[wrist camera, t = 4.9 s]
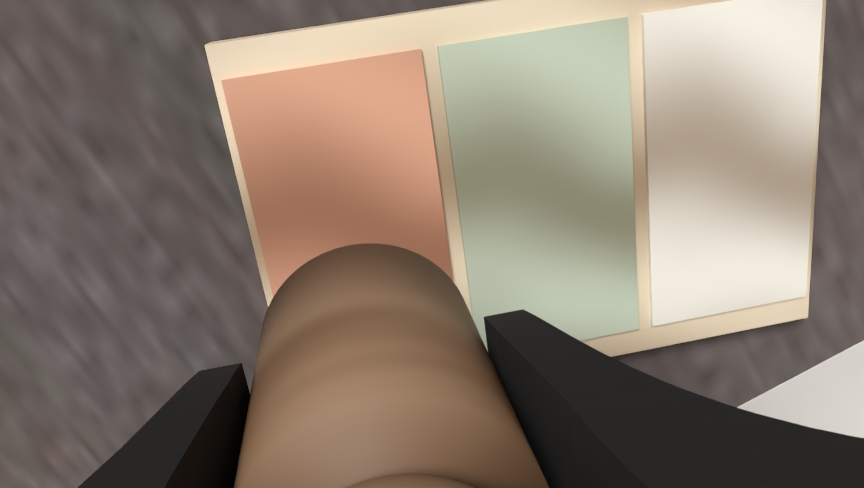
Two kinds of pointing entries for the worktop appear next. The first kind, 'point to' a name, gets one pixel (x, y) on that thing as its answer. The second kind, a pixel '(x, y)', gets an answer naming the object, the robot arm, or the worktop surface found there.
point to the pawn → (378, 383)
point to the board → (546, 156)
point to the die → (821, 396)
